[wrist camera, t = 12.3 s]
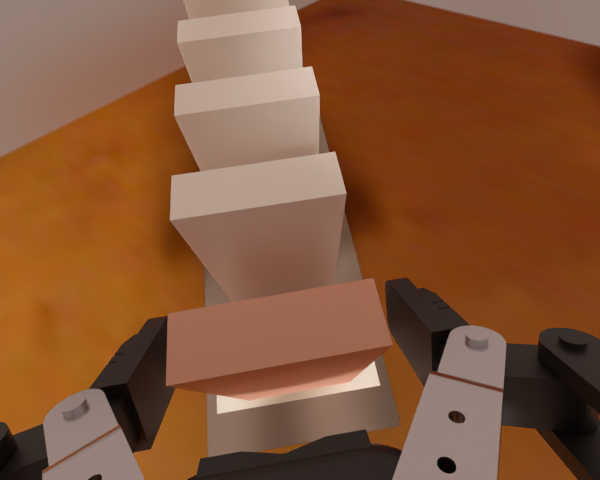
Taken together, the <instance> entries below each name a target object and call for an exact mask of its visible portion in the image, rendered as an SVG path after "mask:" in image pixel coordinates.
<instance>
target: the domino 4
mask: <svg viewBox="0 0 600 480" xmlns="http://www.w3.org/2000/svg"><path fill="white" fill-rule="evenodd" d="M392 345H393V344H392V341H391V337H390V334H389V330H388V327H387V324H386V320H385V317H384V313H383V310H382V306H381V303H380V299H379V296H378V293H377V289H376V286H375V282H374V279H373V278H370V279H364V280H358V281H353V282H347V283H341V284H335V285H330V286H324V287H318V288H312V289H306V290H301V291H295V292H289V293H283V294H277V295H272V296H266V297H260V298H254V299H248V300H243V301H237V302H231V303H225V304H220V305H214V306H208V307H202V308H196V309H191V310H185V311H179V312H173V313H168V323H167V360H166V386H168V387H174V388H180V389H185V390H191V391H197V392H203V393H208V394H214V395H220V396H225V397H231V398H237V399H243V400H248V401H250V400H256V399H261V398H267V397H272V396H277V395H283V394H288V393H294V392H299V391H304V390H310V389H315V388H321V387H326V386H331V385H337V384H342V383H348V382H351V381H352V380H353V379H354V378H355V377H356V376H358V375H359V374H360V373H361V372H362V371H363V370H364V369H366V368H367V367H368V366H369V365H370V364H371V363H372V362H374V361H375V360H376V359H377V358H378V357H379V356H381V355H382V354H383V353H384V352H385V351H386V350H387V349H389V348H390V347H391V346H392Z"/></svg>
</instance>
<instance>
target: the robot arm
mask: <svg viewBox="0 0 600 480" xmlns="http://www.w3.org/2000/svg"><path fill="white" fill-rule="evenodd" d="M385 291H386V306H387V319H388V325H389V328H390V331H391V334H392V335H393V337H394V339H395V340H396V342H397V344H398V345H399V347H400V348H401V350H402V352H403V353H404V355H405V356H406V358H407V360H408V361H409V363H410V365H411V366H412V368H413V369H414V371H415V373H416V374H417V376H418V377H419V379H420V381H421V382H422V384H423V385H424V390H423V393H422V396H421V399H420V402H419V404H418V407H417V410H416V413H415V416H414V419H413V422H412V424H411V427H410V430H409V433H408V436H407V439H406V442H405V444H404V447H403V450H399V449H397V448H393V447H390V446H386V445H381V444H373V443H370V441H369V438H368V434H367V431H366V429H364V430H358V431H352V432H347V433H341V434H336V435H330V436H325V437H323V438H321V439H318V440H316V441H314V442H311V443H309V444H307V445H304V446H302V447H300V448H297V449H295V450H293V451H290V452H288V453H284V454H274V453H259V452H244V451H240V452H235V453H229V454H224V455H218V456H212V457H207V458H201V459H200V462H199V467H198V471H197V475H195V476H193V477H191V478H189V479H187V480H498V477H499V461H500V446H501V431H502V425H506V426H515V427H525V428H534V429H536V430H537V431H538V432H539V434H540V435H541V436H542V437H543V438H544V440H545V441H546V442H547V443H548V444H549V446H550V447H551V448H552V449H553V450H554V452H555V453H556V454H557V455H558V456H559V457H560V459H561V460H562V461H563V462H564V463H565V465H566V466H567V467H568V468H569V469H570V471H571V472H572V473H573V474H574V475H575V477H576V478H577V479H578V480H600V419H599V414H600V339H598V338H596V337H594V336H592V335H590V334H587V333H585V332H581V331H578V330H574V329H568V328H551V329H547V330H544V331H542V332H541V333H540V335H539V342H538V345H526V344H508V343H506V341H505V339H504V338H503V337H502V336H501V335H500V334H498V333H497V332H495V331H493V330H490V329H488V328H484V327H480V326H470V325H469V324H468V323H467V322H466V321H465V320H464V319H463V318H462V317H460V316H459V315H458V314H457V313H456V312H455V311H454V310H453V309H452V308H450V306H449V305H448V304H446V303H445V302H443V300H442V299H441V298H440V297H439V296H438V295H437V294H436V293H434V292H431V291H429V290H427V289H424V288H420V289H418V288H417V287H416V286H415V285H414V284H413V283H412V282H411V281H410V280H409V279H408V278H401V279H395V280H389V281H386V284H385ZM167 323H168V316H164V317H158V318H152V319H148V320H147V321H146V323H145V324H144V326H143V327H142V329H141V330H140V331H139V333H138V334H137V335H134V336H132V337H131V338H130V339H129V340H127V341H126V342H125V343H123V344H122V345H121V347H120V348H119V349H118V351H117V352H116V353H115V356H113V357H112V359H111V360H110V361H109V365H106V367H105V368H104V369H103V371H102V372H101V373H100V375H99V376H98V377H97V379H96V380H95V381H94V383H93V384H92V385H91V387H90V388H89V389H88V390H84V391H81V392H78V393H76V394H73V395H71V396H69V397H68V398H66V399H64V400H63V401H61V402H60V403H58V404H57V405H56V406H55V407H54V408H53V409H52V410H51V411H50V412H49V413H48V414H47V415H46V417H45V419H44V422H43V424H42V425H39V426H36V427H34V428H31V429H28V430H26V431H23V432H20V433H18V434H15V435H12V434H11V432H10V430H9V428H8V426H7V424H6V423H3V422H0V480H144V477H143V475H142V473H141V471H140V469H139V466H138V464H137V462H136V460H135V458H134V455H133V453H134V452H137V451H143V450H149V449H151V447H152V445H153V442H154V440H155V437H156V435H157V432H158V430H159V427H160V425H161V422H162V420H163V417H164V415H165V412H166V410H167V407H168V405H169V402H170V400H171V397H172V395H173V392H174V390H175V388H174V387H168V386H166V360H167Z"/></svg>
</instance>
